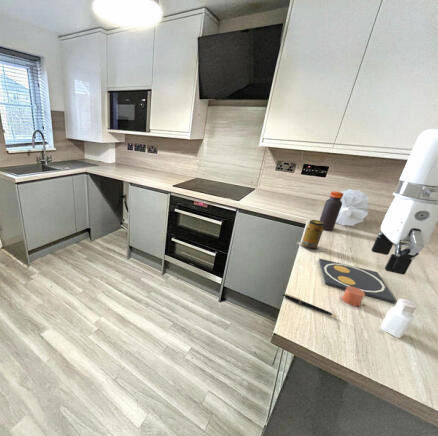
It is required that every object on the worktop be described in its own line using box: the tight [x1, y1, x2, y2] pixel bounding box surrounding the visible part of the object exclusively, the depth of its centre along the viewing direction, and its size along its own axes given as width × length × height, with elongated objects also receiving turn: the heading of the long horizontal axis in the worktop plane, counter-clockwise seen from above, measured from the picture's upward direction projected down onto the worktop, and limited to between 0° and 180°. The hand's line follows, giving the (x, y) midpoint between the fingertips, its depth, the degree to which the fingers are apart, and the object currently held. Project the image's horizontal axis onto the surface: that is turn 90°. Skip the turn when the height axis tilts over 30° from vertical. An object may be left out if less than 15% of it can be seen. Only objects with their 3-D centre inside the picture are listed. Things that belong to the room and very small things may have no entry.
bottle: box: [319, 190, 343, 232], centre depth 123 cm, size 7×7×20 cm
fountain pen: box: [282, 293, 339, 318], centre depth 69 cm, size 14×1×2 cm, turn 52°
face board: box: [318, 257, 397, 304], centre depth 83 cm, size 18×18×1 cm
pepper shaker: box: [380, 298, 418, 339], centre depth 60 cm, size 4×4×10 cm
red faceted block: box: [341, 286, 366, 307], centre depth 72 cm, size 4×4×4 cm
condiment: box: [297, 219, 326, 253], centre depth 103 cm, size 7×8×12 cm
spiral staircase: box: [335, 188, 370, 227], centre depth 135 cm, size 18×18×25 cm
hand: (386, 261), depth 55 cm, fingers open, 9 cm apart
